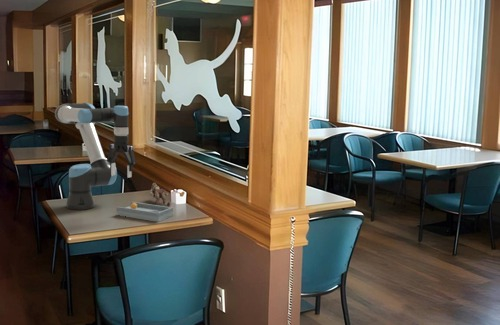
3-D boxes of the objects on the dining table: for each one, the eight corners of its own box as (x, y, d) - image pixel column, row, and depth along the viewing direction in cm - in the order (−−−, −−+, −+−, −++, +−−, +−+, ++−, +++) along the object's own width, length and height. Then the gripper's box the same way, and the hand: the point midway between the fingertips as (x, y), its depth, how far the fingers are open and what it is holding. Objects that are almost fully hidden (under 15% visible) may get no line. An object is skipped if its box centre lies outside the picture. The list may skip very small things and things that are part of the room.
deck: (116, 215, 309) (116, 206, 308) (132, 209, 322) (132, 201, 321) (158, 221, 299) (158, 213, 298) (172, 215, 312) (172, 207, 311)
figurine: (158, 197, 319) (148, 176, 345) (152, 213, 322) (142, 192, 348) (177, 201, 324) (165, 181, 350) (170, 217, 327) (159, 196, 353)
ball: (129, 209, 312) (129, 203, 311) (132, 208, 315) (133, 202, 314) (134, 210, 310) (134, 204, 310) (138, 209, 314) (138, 202, 313)
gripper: (99, 134, 310) (99, 175, 314) (134, 137, 302) (134, 179, 305) (108, 132, 317) (108, 173, 321) (143, 135, 308) (142, 177, 312)
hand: (121, 176), depth 313 cm, fingers open, 10 cm apart
